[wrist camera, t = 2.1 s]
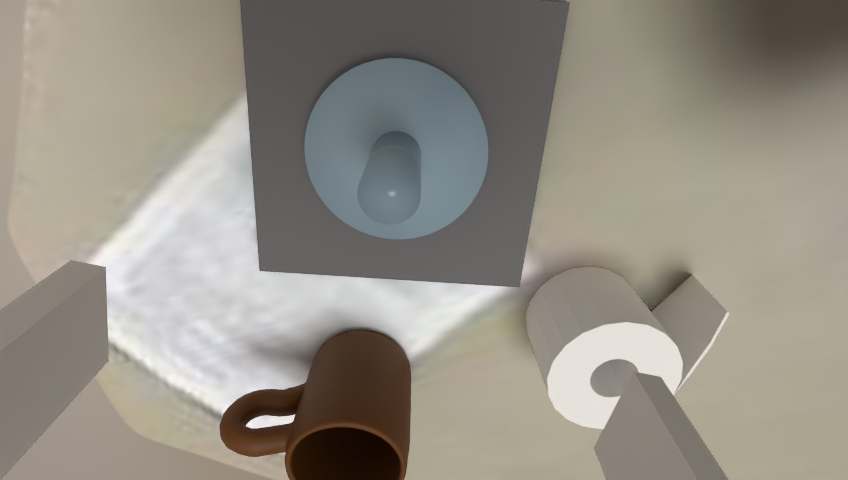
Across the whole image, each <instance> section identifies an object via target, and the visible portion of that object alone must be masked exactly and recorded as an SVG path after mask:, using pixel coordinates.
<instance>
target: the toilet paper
mask: <svg viewBox="0 0 848 480" xmlns="http://www.w3.org/2000/svg"><path fill="white" fill-rule="evenodd" d="M728 315H729V313H728V311H727V310H726V309H725V308H724V307H723V306H722V305H721V304H720V303H719V302H718V301H717V300H716V299H715V298H714V297H713V296H712V295H711V294H710V293H709V292H708V290H707V289H706V288H705V287H704V286H703V285H702V284H701V283H700V282H699V281H698V280H697V279H696V278H695V277H694V276H693V275H691V276H690V277H689V278H688V279H687V280H685V281H684V282H683V283H682V284H681V285H680V286H679V287H678V288H677V289H676V290H674V291H673V292H672V293H671V294H670V295H669V296H668V297H667V298H666V299H665V300H664V301H663V302H661V303H660V304H659V305H658V306H657V307H656V308H655V309H654V310H653V311H652V312H651V311H650V310H649V309H648V308H647V306H646V305H645V304H644V302H643V301H642V300H641V298H640V297H639V296H638V295H637V293H636V292H635V291H634V289H633V288H632V287H631V286H630V285H629V284H628V283H627V281H626V280H625V279H624V278H623V277H622V276H620V275H618V274H616V273H614V272H612V271H610V270H608V269H604V268H597V267H591V266H588V267H581V268H573V269H569V270H567V271H564V272H562V273H560V274H557V275H555V276H553V277H552V278H551V279H549V280H548V281H547V282H545V283H544V284H543V285H542V286H540V287H539V289H538V290H537V292H536V293H535V294H534V296H533V297H532V299H531V300H530V302H529V306H528V309H527V312H526V328H527V332H528V335H529V338H530V341H531V344H532V347H533V350H534V353H535V356H536V359H537V362H538V365H539V368H540V371H541V374H542V377H543V380H544V383H545V386H546V389H547V392H548V395H549V397H550V399H551V401H552V403H553V405H554V407H555V409H556V410H557V411H558V412H560V413H561V414H562V415H563V416H564V417H565V418H566V419H568V420H570V421H572V422H574V423H577V424H579V425H581V426H584V427H590V428H598V429H604V427H605V425H606V423H607V421H608V420H609V418H610V416H611V414H612V412H613V410H614V408H615V406H616V404H617V402H618V400H619V398H620V396H621V394H622V393H623V391H624V389H625V387H626V385H627V383H628V381H629V379H630V377H631V375H632V373H633V371H634V372H639V373H644V374H649V375H654V376H659V377H661V378H662V379H663V381H664V382H665V384H666V385H667V387H668V388H669V390H670V391H671V393H672V394H673V395H674V394H675V393H676V392H677V390H678V389H679V388H680V387H681V385H682V384H683V383H684V382H685V380H686V379H687V378H688V377H689V376H690V374H691V373H692V372H693V370H694V369H695V368H696V366H697V365H698V363H699V362H700V361H701V359H702V358H703V357H704V355H705V354H706V352H707V351H708V350H709V348H710V347H711V346H712V344H713V342H714V340H715V339H716V337H717V335H718V333H719V331H720V330H721V328H722V326H723V324H724V322H725V321H726V319H727V317H728Z"/></svg>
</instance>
